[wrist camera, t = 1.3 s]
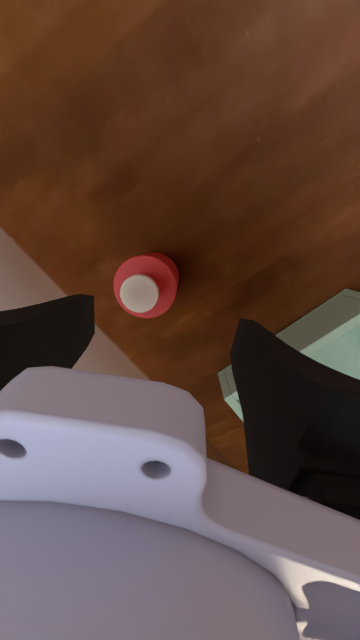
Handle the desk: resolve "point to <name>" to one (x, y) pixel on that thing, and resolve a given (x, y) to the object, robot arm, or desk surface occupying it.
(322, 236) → the desk surface
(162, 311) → the bottle
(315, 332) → the tray
